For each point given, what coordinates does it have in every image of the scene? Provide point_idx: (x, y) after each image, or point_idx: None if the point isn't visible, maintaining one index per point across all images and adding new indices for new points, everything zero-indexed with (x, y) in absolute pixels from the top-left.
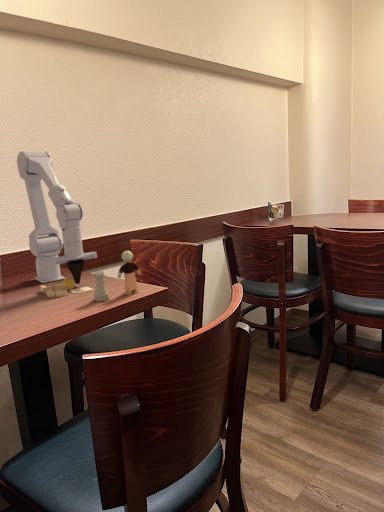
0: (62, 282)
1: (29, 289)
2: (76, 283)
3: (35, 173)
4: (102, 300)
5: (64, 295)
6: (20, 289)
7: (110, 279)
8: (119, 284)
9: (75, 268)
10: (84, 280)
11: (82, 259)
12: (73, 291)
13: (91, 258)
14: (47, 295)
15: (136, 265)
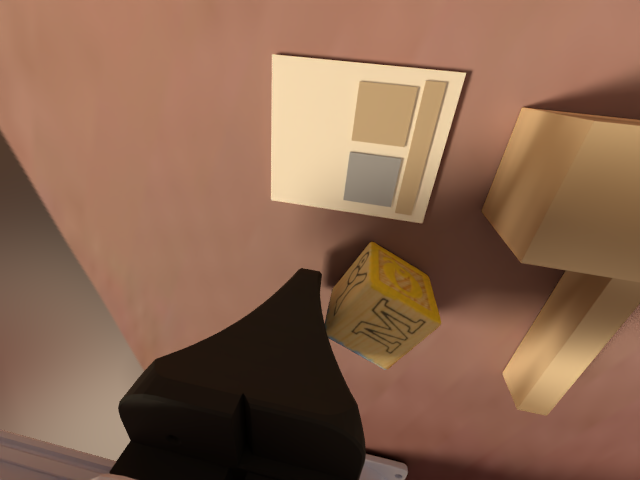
0: (557, 227)
1: (524, 442)
2: (320, 282)
3: None
4: None
5: (556, 111)
6: (546, 473)
7: (91, 242)
8: (41, 38)
9: (300, 364)
10: None
11: (120, 470)
12: (427, 155)
13: (7, 432)
14: None
15: None
